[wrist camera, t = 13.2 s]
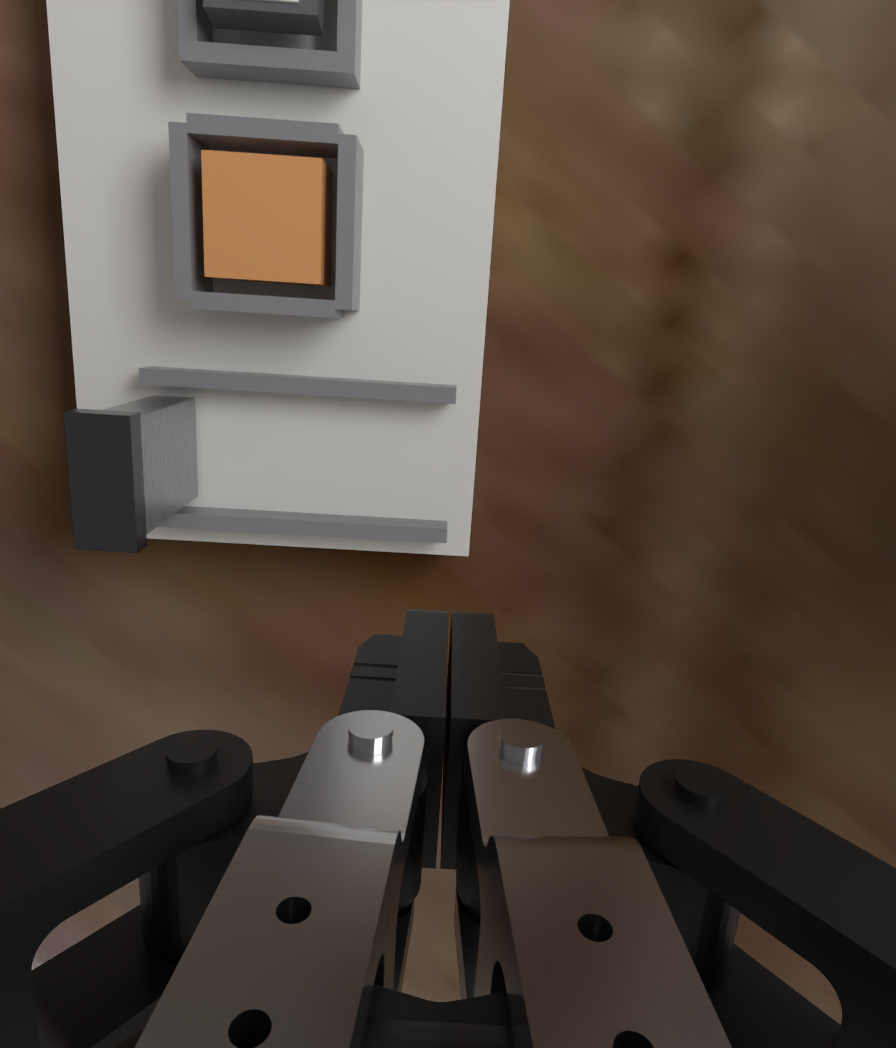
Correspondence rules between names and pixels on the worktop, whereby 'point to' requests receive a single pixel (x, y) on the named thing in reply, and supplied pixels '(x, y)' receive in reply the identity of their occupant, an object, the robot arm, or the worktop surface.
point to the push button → (266, 218)
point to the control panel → (287, 309)
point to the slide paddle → (129, 470)
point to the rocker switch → (268, 15)
